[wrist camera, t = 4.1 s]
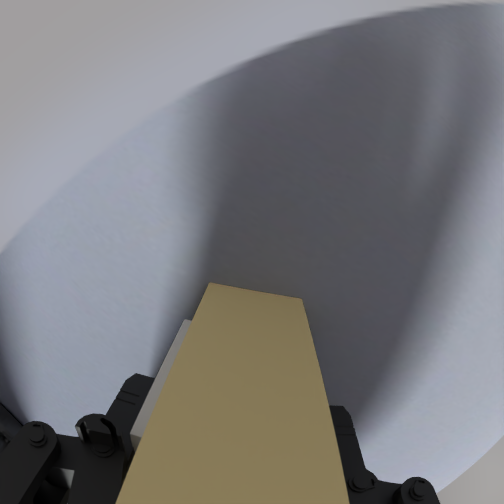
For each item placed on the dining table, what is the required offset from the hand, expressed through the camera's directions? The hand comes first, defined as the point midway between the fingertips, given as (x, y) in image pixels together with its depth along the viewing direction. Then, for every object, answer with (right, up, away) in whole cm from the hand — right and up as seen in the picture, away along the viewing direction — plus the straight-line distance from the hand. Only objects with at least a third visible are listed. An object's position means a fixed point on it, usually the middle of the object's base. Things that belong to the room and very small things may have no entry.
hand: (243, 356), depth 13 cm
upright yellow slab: (-1, -4, +2) cm, 4 cm away
